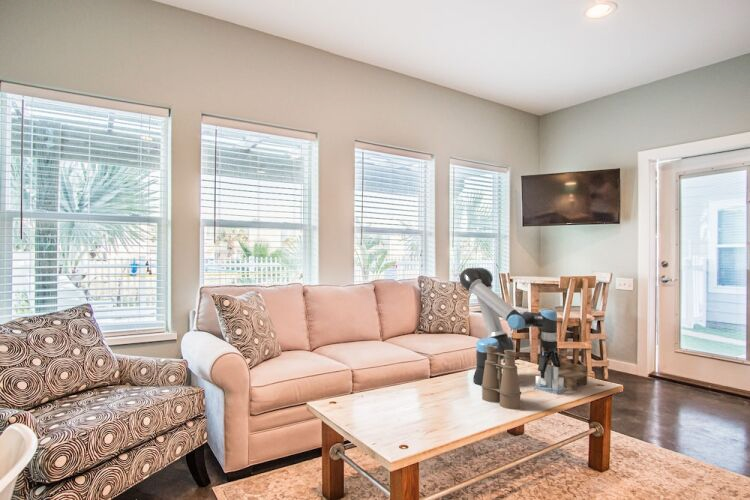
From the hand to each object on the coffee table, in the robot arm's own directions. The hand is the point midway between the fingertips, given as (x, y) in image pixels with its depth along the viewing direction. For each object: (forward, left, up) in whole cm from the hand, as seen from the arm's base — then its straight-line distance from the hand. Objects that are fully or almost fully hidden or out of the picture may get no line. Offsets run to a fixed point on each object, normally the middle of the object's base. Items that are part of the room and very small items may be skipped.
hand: (549, 381), depth 216 cm
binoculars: (-6, -36, -4) cm, 37 cm away
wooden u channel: (+2, +17, -4) cm, 18 cm away
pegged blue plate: (0, 0, -4) cm, 4 cm away
